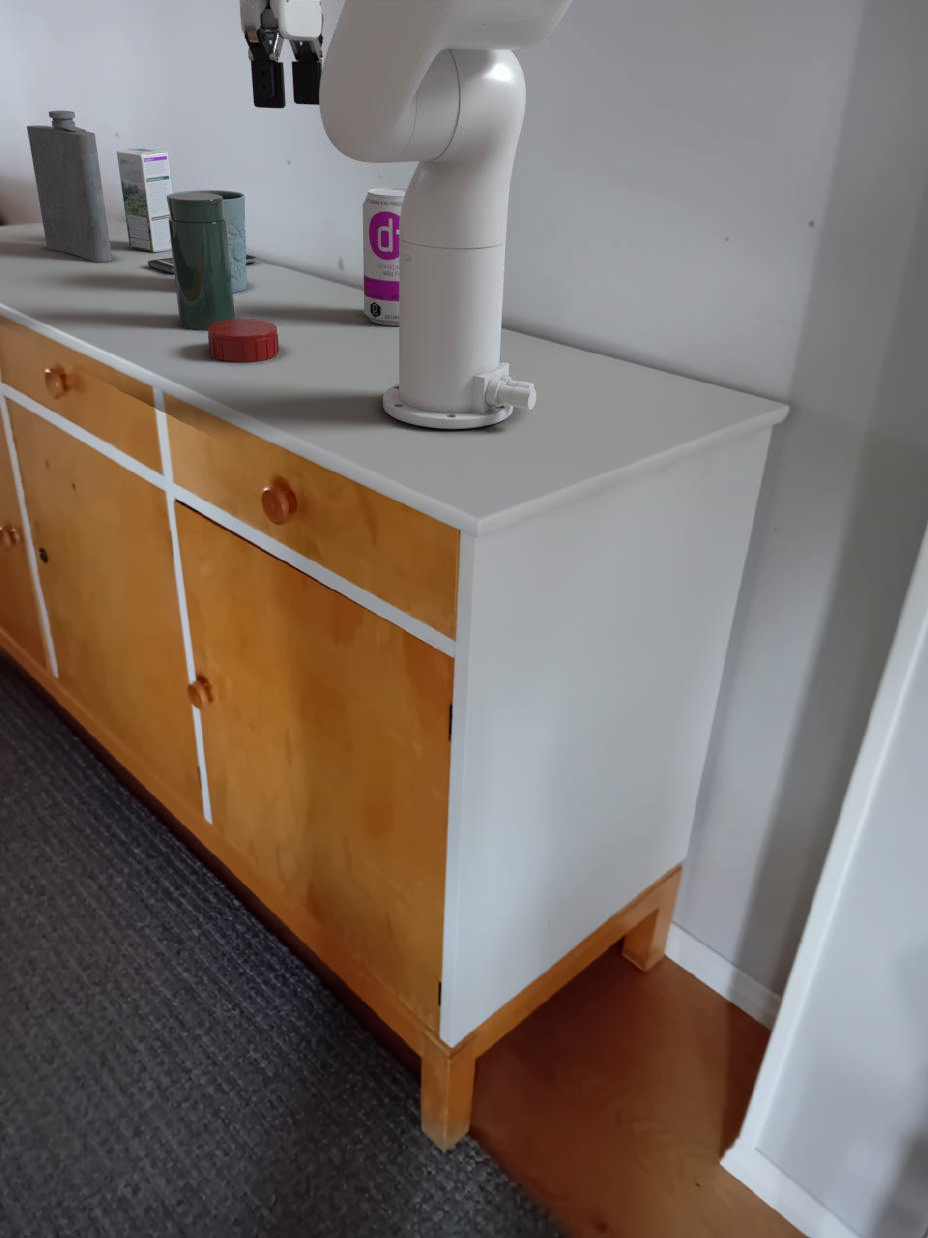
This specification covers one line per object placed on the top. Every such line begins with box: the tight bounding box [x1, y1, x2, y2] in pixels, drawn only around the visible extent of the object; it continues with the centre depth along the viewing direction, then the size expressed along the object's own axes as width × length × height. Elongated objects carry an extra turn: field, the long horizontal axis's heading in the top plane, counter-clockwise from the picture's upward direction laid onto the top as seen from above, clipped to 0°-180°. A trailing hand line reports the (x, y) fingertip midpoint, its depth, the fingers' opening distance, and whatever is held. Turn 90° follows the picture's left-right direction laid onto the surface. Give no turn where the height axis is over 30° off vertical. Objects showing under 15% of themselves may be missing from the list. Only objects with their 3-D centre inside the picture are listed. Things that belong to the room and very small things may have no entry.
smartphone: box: [147, 254, 257, 274], centre depth 151 cm, size 7×1×15 cm
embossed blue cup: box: [167, 189, 248, 293], centre depth 135 cm, size 10×10×12 cm
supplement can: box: [362, 187, 407, 327], centre depth 123 cm, size 8×8×15 cm
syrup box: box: [116, 148, 173, 253], centre depth 158 cm, size 6×6×14 cm
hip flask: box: [26, 110, 113, 263], centre depth 151 cm, size 16×4×20 cm, turn 49°
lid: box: [207, 318, 280, 363], centre depth 110 cm, size 8×8×3 cm
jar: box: [168, 193, 236, 331], centre depth 118 cm, size 7×7×14 cm
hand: (290, 105), depth 103 cm, fingers open, 9 cm apart
